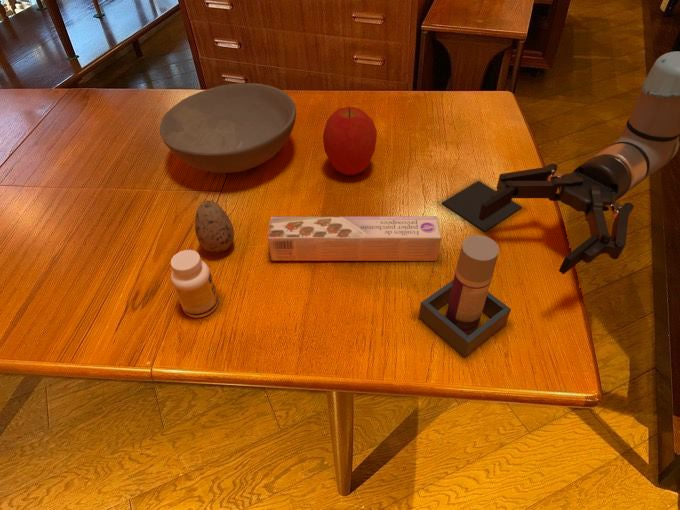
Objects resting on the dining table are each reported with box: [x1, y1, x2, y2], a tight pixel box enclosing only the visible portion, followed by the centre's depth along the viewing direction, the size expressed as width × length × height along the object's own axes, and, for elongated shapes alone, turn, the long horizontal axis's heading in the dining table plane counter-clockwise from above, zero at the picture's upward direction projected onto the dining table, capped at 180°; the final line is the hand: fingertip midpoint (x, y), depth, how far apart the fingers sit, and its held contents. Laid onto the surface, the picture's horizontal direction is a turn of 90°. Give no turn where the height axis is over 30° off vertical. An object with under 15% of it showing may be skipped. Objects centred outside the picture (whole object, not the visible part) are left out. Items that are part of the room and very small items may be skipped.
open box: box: [418, 279, 512, 358], centre depth 69 cm, size 9×9×4 cm
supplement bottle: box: [170, 249, 219, 318], centre depth 70 cm, size 5×5×10 cm
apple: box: [322, 105, 378, 176], centre depth 92 cm, size 10×10×14 cm
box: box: [267, 215, 442, 262], centre depth 79 cm, size 27×5×6 cm, turn 89°
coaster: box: [441, 180, 523, 233], centre depth 88 cm, size 10×10×1 cm
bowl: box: [159, 82, 297, 174], centre depth 97 cm, size 26×26×10 cm
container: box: [445, 234, 500, 335], centre depth 65 cm, size 5×5×15 cm
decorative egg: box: [194, 200, 235, 254], centre depth 78 cm, size 6×6×10 cm
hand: (520, 237), depth 66 cm, fingers open, 13 cm apart
